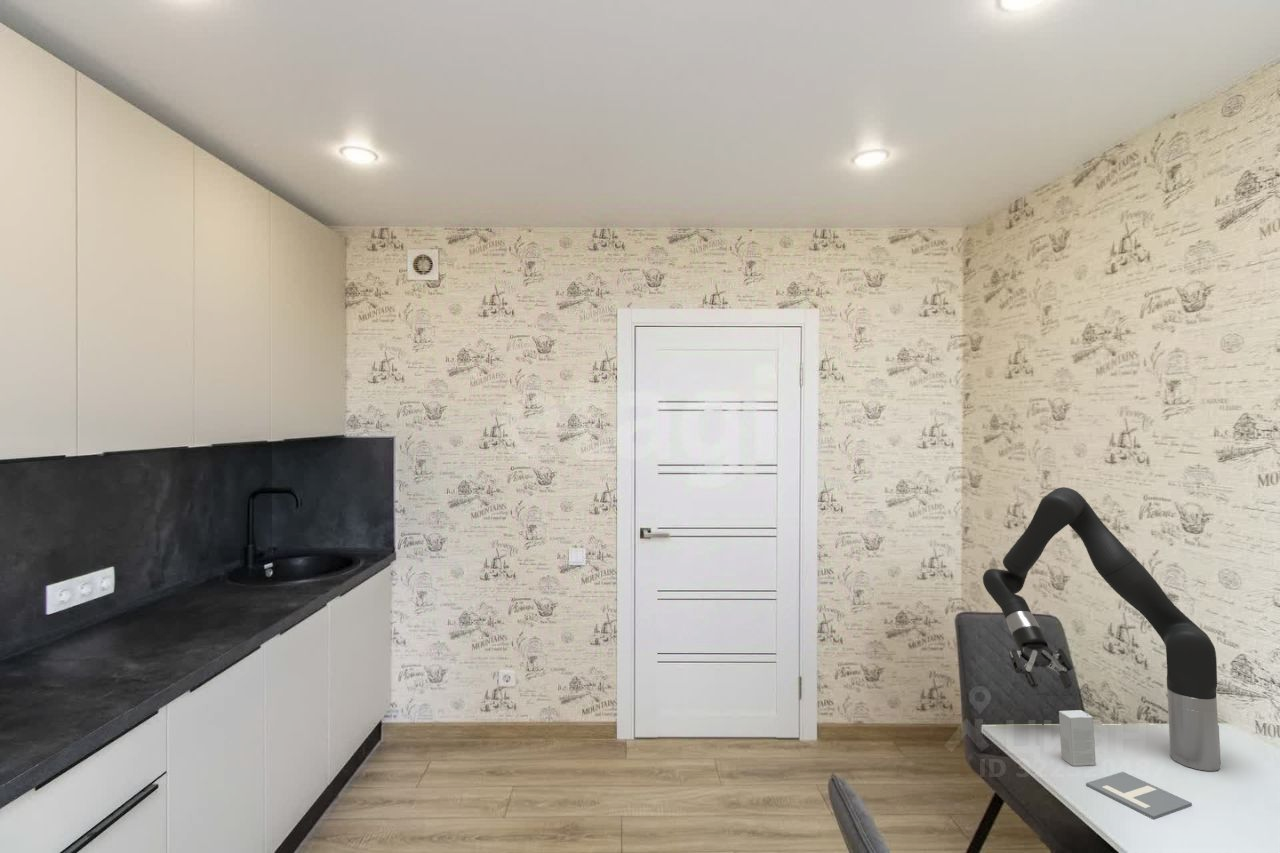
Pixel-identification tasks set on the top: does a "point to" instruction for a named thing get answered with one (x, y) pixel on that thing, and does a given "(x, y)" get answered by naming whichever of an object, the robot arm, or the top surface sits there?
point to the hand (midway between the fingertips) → (1052, 687)
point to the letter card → (1139, 795)
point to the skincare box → (1077, 738)
